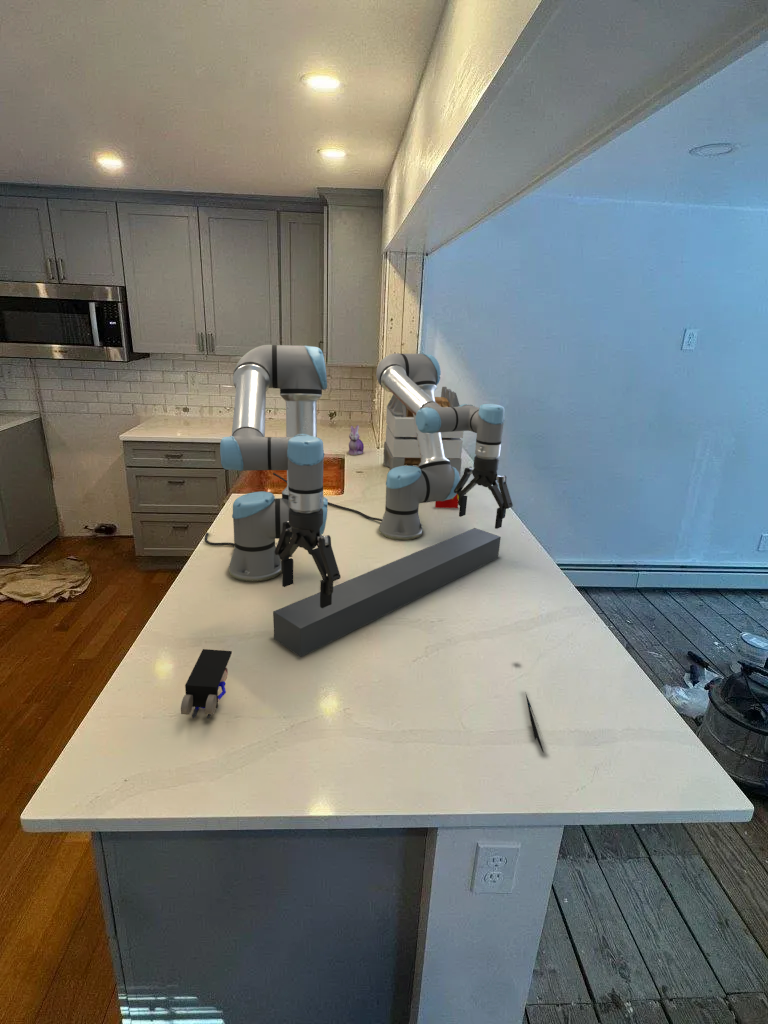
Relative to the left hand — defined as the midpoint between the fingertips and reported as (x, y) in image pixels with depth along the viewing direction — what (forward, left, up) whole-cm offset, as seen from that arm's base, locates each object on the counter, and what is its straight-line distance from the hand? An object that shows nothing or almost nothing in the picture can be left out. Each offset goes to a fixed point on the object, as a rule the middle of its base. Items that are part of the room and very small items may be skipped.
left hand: (306, 595), depth 131 cm
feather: (+42, +32, -12) cm, 54 cm away
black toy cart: (+13, -25, -12) cm, 31 cm away
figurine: (-159, +90, -12) cm, 183 cm away
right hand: (-22, +67, +1) cm, 71 cm away
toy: (-77, +91, -12) cm, 120 cm away
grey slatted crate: (-114, +103, -12) cm, 153 cm away
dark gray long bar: (-11, +33, -12) cm, 37 cm away
